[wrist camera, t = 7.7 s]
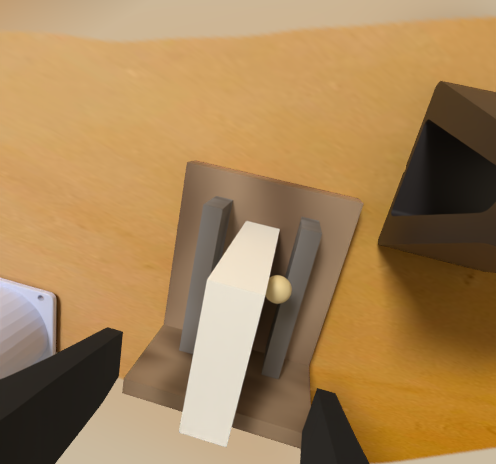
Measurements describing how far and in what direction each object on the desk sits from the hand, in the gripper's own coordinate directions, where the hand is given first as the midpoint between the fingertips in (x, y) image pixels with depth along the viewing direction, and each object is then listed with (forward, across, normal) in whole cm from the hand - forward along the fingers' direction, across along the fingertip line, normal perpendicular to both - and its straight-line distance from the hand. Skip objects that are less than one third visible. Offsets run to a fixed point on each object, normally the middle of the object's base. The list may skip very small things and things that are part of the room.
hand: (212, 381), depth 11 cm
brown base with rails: (+10, 0, 0) cm, 10 cm away
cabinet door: (+8, 0, 0) cm, 8 cm away
